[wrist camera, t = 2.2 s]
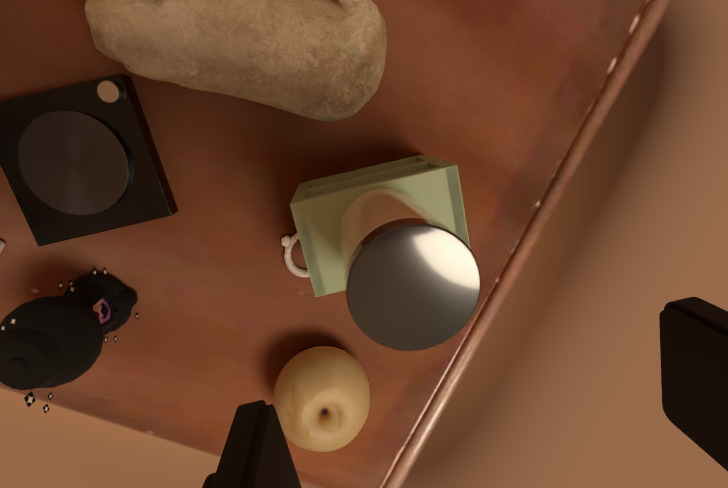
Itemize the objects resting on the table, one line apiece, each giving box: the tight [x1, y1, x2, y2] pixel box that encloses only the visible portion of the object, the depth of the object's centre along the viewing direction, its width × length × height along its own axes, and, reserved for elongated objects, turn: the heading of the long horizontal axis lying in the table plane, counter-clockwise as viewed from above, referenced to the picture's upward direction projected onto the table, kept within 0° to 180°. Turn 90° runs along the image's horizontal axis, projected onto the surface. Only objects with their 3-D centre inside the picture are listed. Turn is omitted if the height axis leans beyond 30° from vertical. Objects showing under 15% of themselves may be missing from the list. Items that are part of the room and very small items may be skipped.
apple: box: [273, 346, 370, 452], centre depth 35 cm, size 8×8×8 cm
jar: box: [339, 188, 481, 351], centre depth 21 cm, size 5×5×9 cm
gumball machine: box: [0, 268, 139, 413], centre depth 30 cm, size 7×6×10 cm
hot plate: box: [0, 74, 178, 246], centre depth 31 cm, size 10×10×2 cm
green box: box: [290, 154, 470, 297], centre depth 30 cm, size 6×10×9 cm, turn 103°
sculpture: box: [84, 0, 387, 121], centre depth 27 cm, size 9×17×10 cm
